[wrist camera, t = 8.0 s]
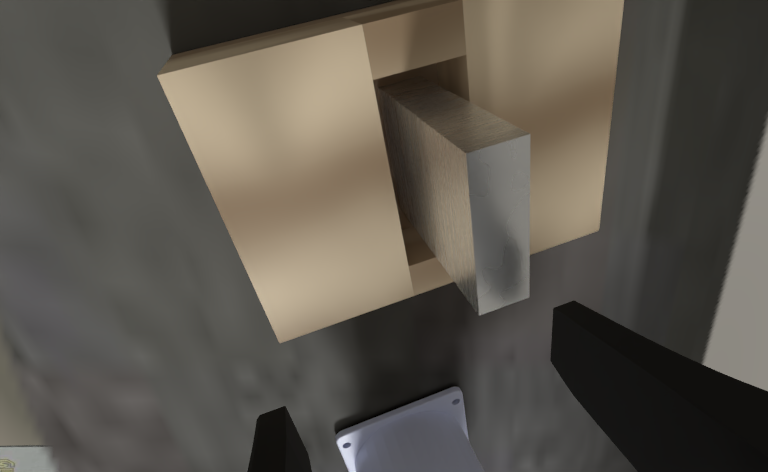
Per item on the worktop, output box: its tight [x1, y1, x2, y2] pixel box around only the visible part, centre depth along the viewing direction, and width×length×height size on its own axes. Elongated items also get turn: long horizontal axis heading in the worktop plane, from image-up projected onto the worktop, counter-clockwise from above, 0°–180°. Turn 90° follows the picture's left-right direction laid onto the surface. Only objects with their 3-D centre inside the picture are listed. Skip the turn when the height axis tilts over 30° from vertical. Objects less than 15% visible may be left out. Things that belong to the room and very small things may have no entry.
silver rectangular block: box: [378, 76, 530, 316], centre depth 14 cm, size 5×2×7 cm, turn 10°
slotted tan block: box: [157, 0, 624, 343], centre depth 16 cm, size 10×14×4 cm
